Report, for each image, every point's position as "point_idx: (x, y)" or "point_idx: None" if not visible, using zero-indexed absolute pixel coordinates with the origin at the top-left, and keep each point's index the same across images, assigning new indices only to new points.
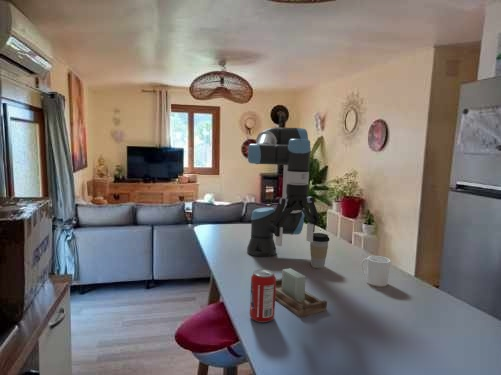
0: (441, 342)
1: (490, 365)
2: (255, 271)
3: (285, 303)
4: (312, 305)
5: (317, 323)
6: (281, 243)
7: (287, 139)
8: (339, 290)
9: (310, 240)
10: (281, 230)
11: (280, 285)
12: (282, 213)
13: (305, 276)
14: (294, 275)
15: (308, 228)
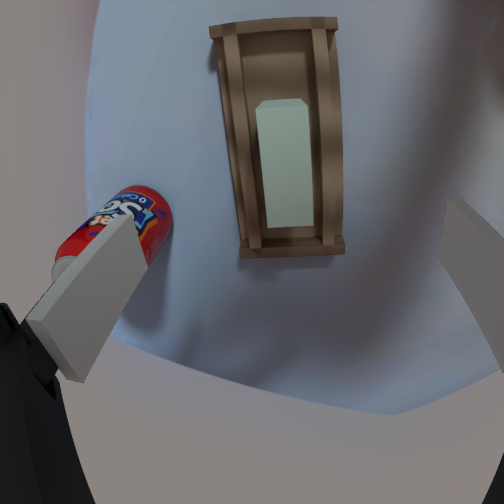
0: (412, 379)
1: (401, 411)
2: (56, 269)
3: (235, 177)
4: (286, 256)
5: (268, 282)
6: (136, 281)
7: None
8: (472, 155)
9: (443, 255)
10: (84, 359)
11: (299, 36)
12: (9, 487)
13: (312, 225)
14: (271, 198)
15: (500, 287)
